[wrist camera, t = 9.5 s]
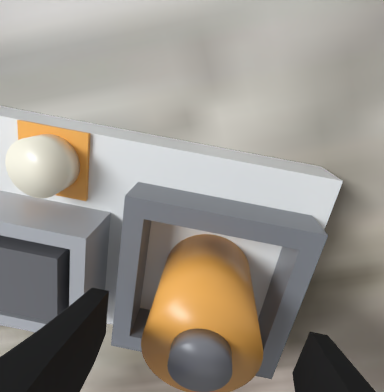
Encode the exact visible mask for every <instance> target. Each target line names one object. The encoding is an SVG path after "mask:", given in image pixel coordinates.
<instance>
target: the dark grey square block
mask: <svg viewBox="0 0 384 392" xmlns="http://www.w3.org/2000/svg"><path fill="white" fill-rule="evenodd" d="M69 284H70V249H65V248H61V247H56V246H51V245H46V244H41V243H36V242H31V241H26V240H21V239H16V238H11V237H6V236H1V235H0V311H1V312H6V313H10V314H15V315H20V316H25V317H30V318H34V319H39V320H44V321H49V322H50V321H51V320H52V319H54V318H55V317H56V316H58V315H59V314H60V313H61V312H63V311H64V310H65V309H66V308H67V307H69Z"/></svg>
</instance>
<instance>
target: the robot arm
mask: <svg viewBox="0 0 384 392" xmlns="http://www.w3.org/2000/svg"><path fill="white" fill-rule="evenodd" d="M108 298H109V291H107V290H102V289H97V288H91V289H89V290H88V291H87V292H86V293H84V294H83V295H82V296H81V297H80V298H78V299H77V300H76V301H75V302H74V303H72V304H71V305H70V306H69V307H67V308H66V309H65V310H64V311H63V312H61V313H60V314H59V315H58V316H56V317H55V318H54V319H52V320H51V321H50V322H48V323H47V324H46V325H45V326H43V327H42V328H41V329H39V330H38V331H37V332H35V333H34V334H33V335H31V336H30V337H28V338H27V339H25V340H24V341H23V342H21V343H20V344H18V345H17V346H16V347H14V348H13V349H11V350H10V351H8V352H7V353H6V354H4V355H3V356H1V357H0V392H80V390H81V388H82V386H83V384H84V382H85V380H86V378H87V376H88V374H89V372H90V370H91V368H92V366H93V364H94V362H95V360H96V357H97V355H98V352H99V350H100V347H101V345H102V342H103V339H104V337H105V334H106V322H107V310H108ZM293 380H294V387H295V392H375V390H374V389H373V388H372V387H371V386H370V385H369V383H368V382H367V381H366V380H365V379H364V378H363V376H362V375H361V374H360V373H359V372H358V370H357V369H356V368H355V367H354V366H353V365H352V363H351V362H350V361H349V360H348V359H347V357H346V356H345V355H344V354H343V353H342V351H341V350H340V349H339V348H338V347H337V346H336V344H335V343H334V342H333V341H332V340H331V339H330V338H329V337H328V335H323V334H318V333H313V332H310V333H309V336H308V338H307V340H306V343H305V345H304V347H303V350H302V352H301V354H300V357H299V359H298V361H297V364H296V366H295V368H294V371H293Z"/></svg>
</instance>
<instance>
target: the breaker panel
mask: <svg viewBox="0 0 384 392" xmlns="http://www.w3.org/2000/svg"><path fill="white" fill-rule="evenodd" d="M342 183H343V181H342V180H341V179H339V178H338V177H336V176H335V175H333V174H332V173H330V172H329V171H327V170H326V169H324V168H323V167H321V166H316V165H311V164H306V163H301V162H295V161H290V160H285V159H279V158H274V157H269V156H263V155H258V154H253V153H248V152H242V151H237V150H232V149H226V148H221V147H216V146H211V145H205V144H200V143H195V142H189V141H184V140H179V139H174V138H168V137H163V136H158V135H152V134H147V133H142V132H137V131H131V130H126V129H121V128H115V127H110V126H105V125H100V124H94V123H89V122H84V121H78V120H73V119H68V118H63V117H57V116H52V115H47V114H41V113H36V112H31V111H26V110H20V109H15V108H10V107H4V106H0V235H1V236H6V237H11V238H16V239H21V240H26V241H31V242H36V243H41V244H46V245H51V246H56V247H61V248H65V249H70V284H69V306H70V305H71V304H72V303H74V302H75V301H76V300H77V299H78V298H80V297H81V296H82V295H83V294H84V293H86V292H87V291H88V290H89V289H91V288H97V289H102V290H107V291H109V298H108V310H107V322H106V323H108V324H113V331H112V342H111V345H112V346H117V347H121V348H126V349H131V350H136V351H141V352H142V349H141V339H142V334H143V331H144V328H145V325H146V322H147V319H148V316H149V313H150V310H151V307H152V304H153V300H154V297H155V294H156V291H157V288H158V285H159V282H160V279H161V276H162V273H163V270H164V267H165V264H166V261H167V258H168V255H169V253H170V252H171V250H172V249H173V248H174V246H176V245H177V244H178V243H179V242H181V241H182V240H184V239H186V238H188V237H191V236H194V235H200V234H211V235H217V236H221V237H223V238H226V239H228V240H230V241H232V242H233V243H234V244H236V245H237V246H238V247H239V248H240V249H241V250H242V251H243V253H244V254H245V256H246V258H247V260H248V263H249V268H250V274H251V280H252V286H253V292H254V298H255V304H256V310H257V316H258V322H259V328H260V334H261V340H262V346H263V360H262V364H261V367H260V369H259V371H258V372H257V374H256V375H255V376H259V377H264V378H269V379H272V377H273V374H274V372H275V369H276V367H277V364H278V362H279V359H280V356H281V354H282V351H283V349H284V346H285V344H286V341H287V339H288V336H289V334H290V331H291V329H292V326H293V323H294V321H295V318H296V316H297V313H298V311H299V308H300V306H301V303H302V301H303V298H304V296H305V293H306V290H307V288H308V285H309V283H310V280H311V278H312V275H313V273H314V270H315V268H316V265H317V263H318V260H319V257H320V255H321V252H322V250H323V247H324V245H325V242H326V240H327V237H328V235H327V233H326V232H325V231H324V229H325V227H326V224H327V222H328V219H329V216H330V214H331V211H332V209H333V206H334V203H335V201H336V198H337V196H338V193H339V190H340V188H341V185H342ZM48 322H49V321H44V320H39V319H34V318H30V317H25V316H20V315H15V314H10V313H6V312H1V311H0V325H3V326H8V327H13V328H17V329H22V330H27V331H32V332H37V331H38V330H39V329H41V328H42V327H43V326H45V325H46V324H47V323H48Z"/></svg>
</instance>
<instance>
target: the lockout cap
mask: <svg viewBox="0 0 384 392" xmlns="http://www.w3.org/2000/svg"><path fill="white" fill-rule="evenodd" d="M141 349H142V354H143V357H144V359H145V361H146V363H147V365H148V366H149V368H150V369H151V370H152V371H153V373H154V374H155V375H157V376H158V377H159V378H160V379H161V380H163V381H164V382H166V383H167V384H169V385H171V386H173V387H175V388H177V389H180V390H183V391H186V392H230V391H233V390H235V389H238V388H240V387H242V386H243V385H245V384H246V383H248V382H249V381H250V380H251V379H252V378H253V377H254V376H255V375H256V374H257V372H258V371H259V369H260V367H261V364H262V360H263V346H262V340H261V334H260V328H259V322H258V316H257V310H256V304H255V298H254V292H253V286H252V280H251V274H250V268H249V263H248V260H247V258H246V256H245V254H244V253H243V251H242V250H241V249H240V248H239V247H238V246H237V245H236V244H234V243H233V242H232V241H230V240H228V239H226V238H223V237H221V236H217V235H211V234H200V235H194V236H191V237H188V238H186V239H184V240H182V241H181V242H179V243H178V244H177V245H176V246H174V248H173V249H172V250H171V252H170V253H169V255H168V258H167V261H166V264H165V267H164V270H163V273H162V276H161V279H160V282H159V285H158V288H157V291H156V294H155V297H154V300H153V304H152V307H151V310H150V313H149V316H148V319H147V322H146V325H145V328H144V331H143V334H142V339H141Z"/></svg>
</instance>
